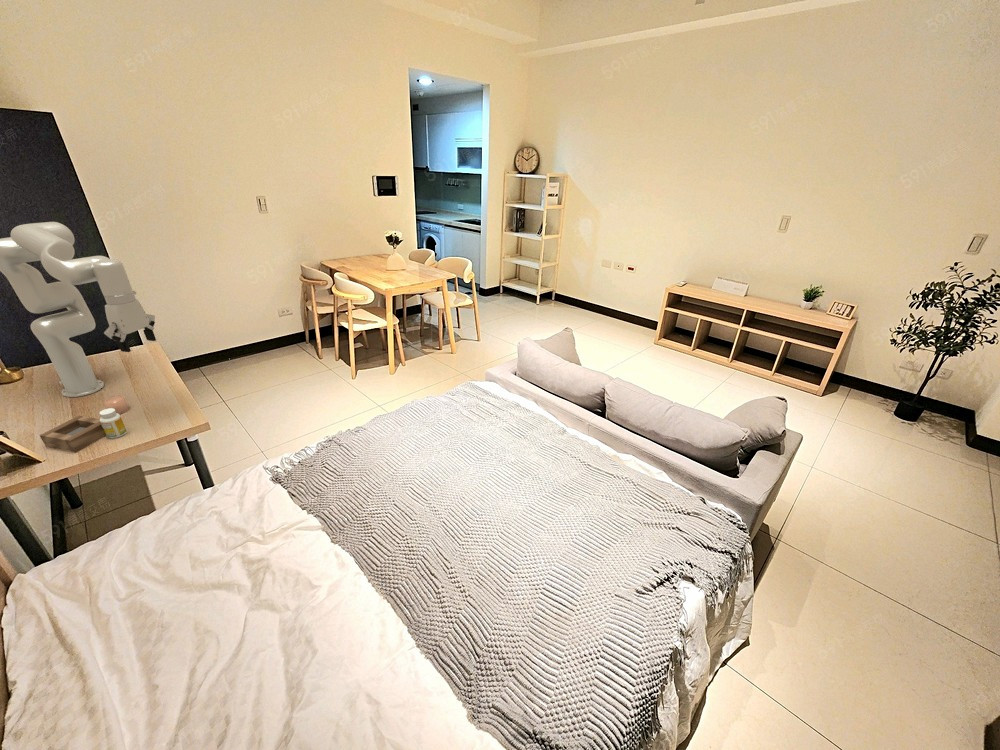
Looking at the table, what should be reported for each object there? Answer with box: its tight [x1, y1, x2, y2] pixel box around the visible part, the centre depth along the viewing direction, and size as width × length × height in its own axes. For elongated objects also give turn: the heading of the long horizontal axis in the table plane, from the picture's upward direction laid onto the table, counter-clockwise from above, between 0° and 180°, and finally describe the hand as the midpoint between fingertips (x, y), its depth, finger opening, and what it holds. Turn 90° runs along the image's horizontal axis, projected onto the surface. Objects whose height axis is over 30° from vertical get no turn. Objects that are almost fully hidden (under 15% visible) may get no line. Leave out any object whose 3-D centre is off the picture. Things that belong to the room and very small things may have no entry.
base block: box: [39, 415, 107, 453], centre depth 140 cm, size 12×12×5 cm
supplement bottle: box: [99, 408, 128, 439], centre depth 142 cm, size 5×5×10 cm
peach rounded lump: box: [103, 395, 130, 416], centre depth 155 cm, size 6×6×5 cm
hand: (139, 345), depth 143 cm, fingers open, 9 cm apart
